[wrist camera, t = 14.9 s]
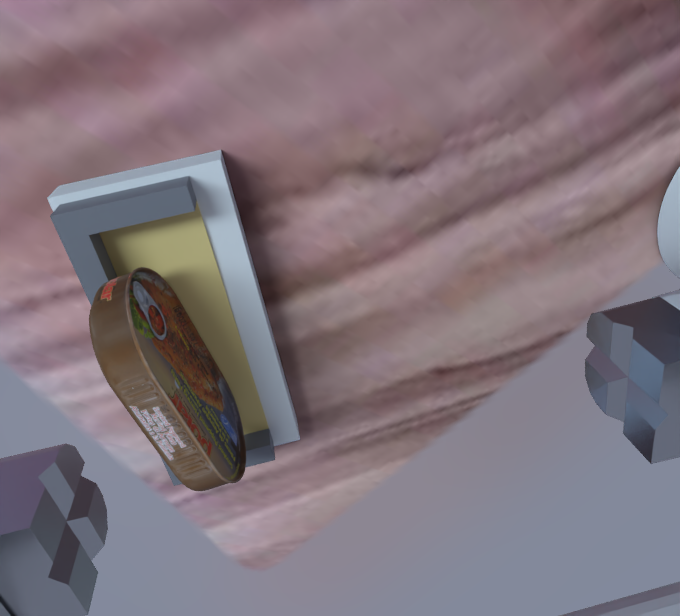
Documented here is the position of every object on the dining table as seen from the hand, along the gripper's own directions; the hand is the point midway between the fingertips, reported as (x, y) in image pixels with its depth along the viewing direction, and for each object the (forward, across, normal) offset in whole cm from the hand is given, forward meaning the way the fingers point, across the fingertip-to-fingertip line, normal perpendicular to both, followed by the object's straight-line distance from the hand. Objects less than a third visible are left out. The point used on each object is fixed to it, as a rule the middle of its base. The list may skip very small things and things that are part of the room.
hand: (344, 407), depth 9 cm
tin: (+27, +9, +14) cm, 31 cm away
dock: (+29, +8, +13) cm, 33 cm away
